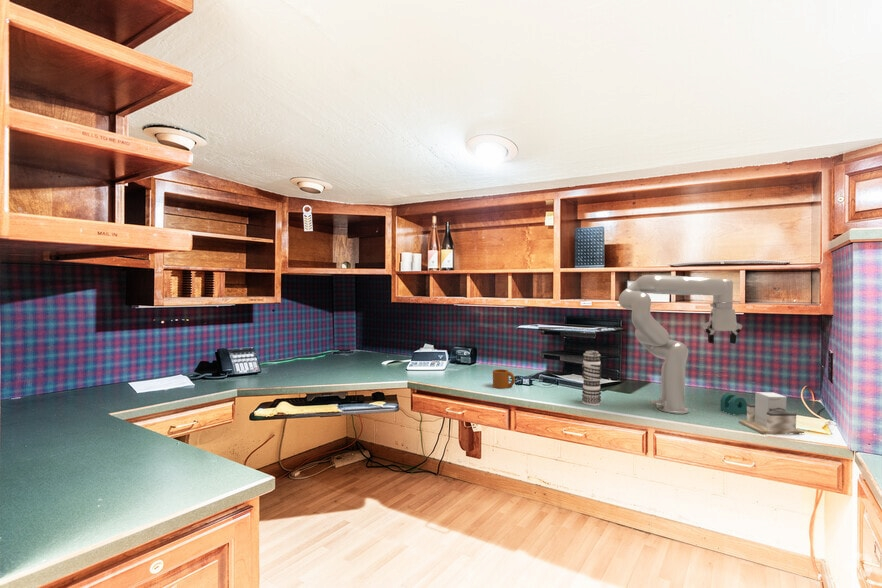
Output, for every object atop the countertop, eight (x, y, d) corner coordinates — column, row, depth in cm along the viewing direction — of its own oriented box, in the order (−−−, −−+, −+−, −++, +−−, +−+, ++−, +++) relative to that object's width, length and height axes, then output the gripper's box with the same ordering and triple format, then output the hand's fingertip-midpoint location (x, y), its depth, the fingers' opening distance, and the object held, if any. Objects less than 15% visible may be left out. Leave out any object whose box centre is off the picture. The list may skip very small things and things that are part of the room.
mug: (511, 390, 231) (511, 373, 230) (490, 388, 236) (490, 371, 236) (516, 386, 239) (516, 370, 238) (495, 384, 244) (495, 368, 244)
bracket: (732, 415, 187) (733, 397, 187) (720, 411, 194) (720, 393, 194) (768, 413, 190) (769, 396, 190) (755, 409, 197) (755, 392, 196)
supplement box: (767, 428, 167) (767, 396, 167) (753, 422, 175) (754, 391, 174) (786, 428, 167) (787, 396, 167) (772, 422, 174) (773, 391, 174)
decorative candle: (603, 402, 208) (604, 350, 207) (599, 406, 200) (599, 353, 199) (584, 399, 212) (584, 349, 212) (579, 403, 205) (579, 351, 204)
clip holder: (762, 433, 164) (762, 413, 164) (738, 422, 177) (739, 404, 177) (804, 434, 164) (804, 413, 164) (777, 422, 177) (778, 404, 177)
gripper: (707, 306, 194) (707, 344, 194) (747, 306, 193) (746, 344, 193) (698, 305, 201) (698, 341, 202) (736, 305, 200) (736, 342, 201)
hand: (721, 343), depth 198 cm, fingers open, 9 cm apart
